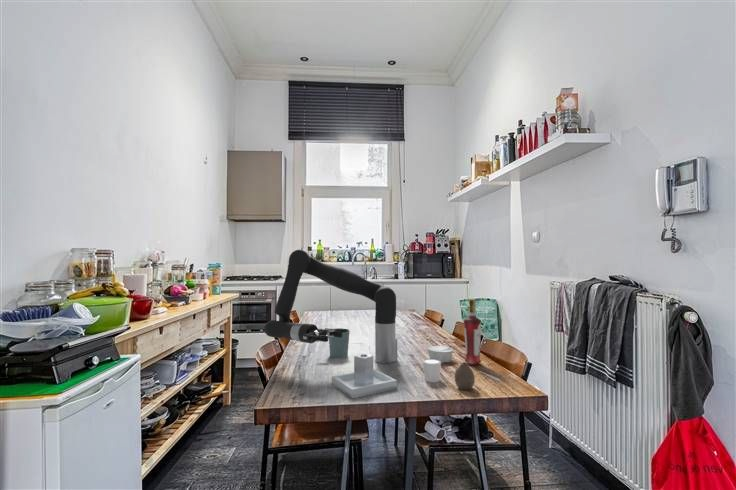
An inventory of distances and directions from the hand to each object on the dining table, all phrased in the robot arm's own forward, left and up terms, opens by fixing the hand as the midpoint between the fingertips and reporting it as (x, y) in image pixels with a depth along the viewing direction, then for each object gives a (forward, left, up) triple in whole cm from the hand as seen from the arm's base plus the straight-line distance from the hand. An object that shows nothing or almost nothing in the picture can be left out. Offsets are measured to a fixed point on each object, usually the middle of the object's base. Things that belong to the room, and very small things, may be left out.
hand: (334, 336), depth 142 cm
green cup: (-17, -31, -17) cm, 39 cm away
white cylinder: (-32, +19, -17) cm, 41 cm away
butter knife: (-55, +20, -17) cm, 61 cm away
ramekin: (-53, 0, -17) cm, 55 cm away
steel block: (-6, +12, -15) cm, 20 cm away
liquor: (-61, +12, -17) cm, 64 cm away
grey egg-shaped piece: (-36, +32, -17) cm, 51 cm away
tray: (-6, +12, -16) cm, 21 cm away
